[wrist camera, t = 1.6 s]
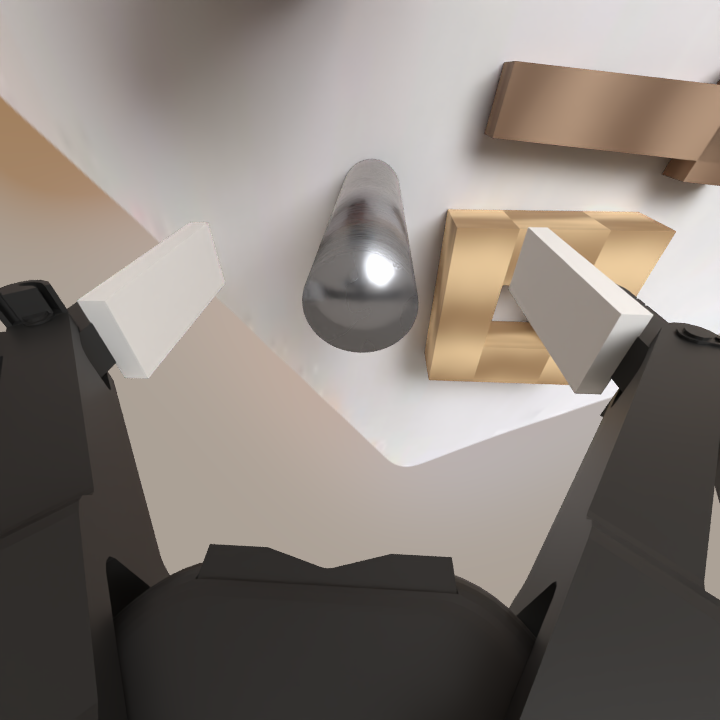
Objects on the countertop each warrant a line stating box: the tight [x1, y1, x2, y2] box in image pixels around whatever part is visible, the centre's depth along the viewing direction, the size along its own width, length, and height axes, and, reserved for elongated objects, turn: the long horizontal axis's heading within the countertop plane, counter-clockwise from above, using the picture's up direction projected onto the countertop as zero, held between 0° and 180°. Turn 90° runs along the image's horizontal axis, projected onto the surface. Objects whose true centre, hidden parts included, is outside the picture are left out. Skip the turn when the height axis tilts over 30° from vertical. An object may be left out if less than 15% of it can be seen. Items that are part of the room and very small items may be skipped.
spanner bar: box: [484, 61, 720, 186], centre depth 17 cm, size 14×5×2 cm, turn 85°
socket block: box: [425, 209, 676, 385], centre depth 24 cm, size 12×12×4 cm
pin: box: [302, 159, 418, 352], centre depth 16 cm, size 4×4×14 cm
